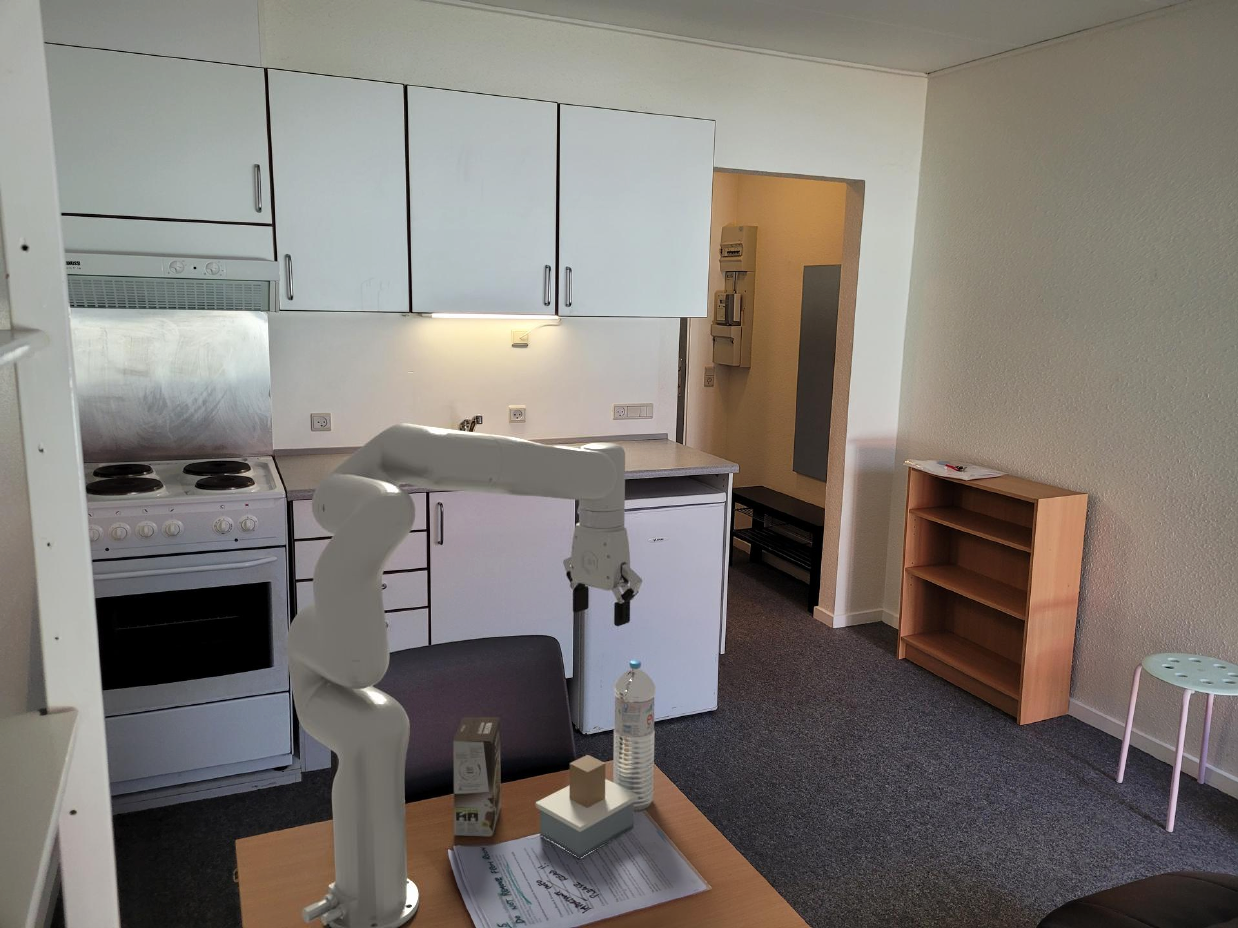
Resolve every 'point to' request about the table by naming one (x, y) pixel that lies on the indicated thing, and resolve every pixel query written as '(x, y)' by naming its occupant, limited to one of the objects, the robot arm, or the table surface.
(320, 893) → the table surface
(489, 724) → the coffee box
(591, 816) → the lid
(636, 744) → the water bottle
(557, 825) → the box
